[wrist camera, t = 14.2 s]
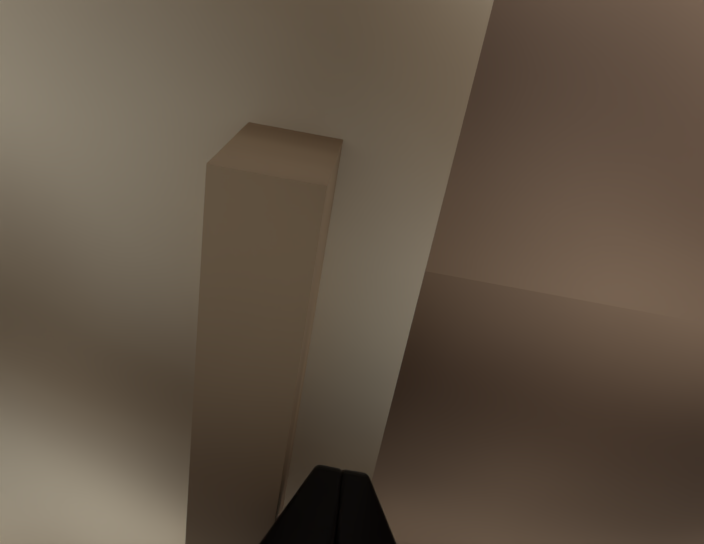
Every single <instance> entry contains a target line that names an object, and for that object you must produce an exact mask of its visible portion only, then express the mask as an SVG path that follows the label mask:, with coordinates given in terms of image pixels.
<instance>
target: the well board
mask: <svg viewBox="0 0 704 544" xmlns="http://www.w3.org/2000/svg"><path fill="white" fill-rule="evenodd" d="M371 482H372V484H373V487H374V489H375V492H376V494H377V497H378V499H379V502H380V504H381V507H382V509H383V512H384V514H385V517H386V519H387V521H388V524H389V526H390V529H391V531H392V534H393V536H394V539H395V541H396V544H704V0H494V2H493V6H492V10H491V14H490V18H489V22H488V26H487V29H486V33H485V37H484V41H483V45H482V49H481V53H480V57H479V61H478V65H477V69H476V73H475V77H474V81H473V84H472V88H471V92H470V96H469V100H468V104H467V108H466V112H465V116H464V120H463V124H462V128H461V132H460V136H459V139H458V143H457V147H456V151H455V155H454V159H453V163H452V167H451V171H450V175H449V179H448V183H447V187H446V191H445V194H444V198H443V202H442V206H441V210H440V214H439V218H438V222H437V226H436V230H435V234H434V238H433V242H432V246H431V249H430V253H429V257H428V261H427V265H426V269H425V273H424V277H423V281H422V285H421V289H420V293H419V297H418V301H417V304H416V308H415V312H414V316H413V320H412V324H411V328H410V332H409V336H408V340H407V344H406V348H405V352H404V356H403V359H402V363H401V367H400V371H399V375H398V379H397V383H396V387H395V391H394V395H393V399H392V403H391V407H390V411H389V415H388V418H387V422H386V426H385V430H384V434H383V438H382V442H381V446H380V450H379V454H378V458H377V462H376V466H375V470H374V473H373V477H372V481H371Z"/></svg>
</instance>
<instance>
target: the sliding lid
mask: <svg viewBox="0 0 704 544" xmlns="http://www.w3.org/2000/svg"><path fill="white" fill-rule="evenodd" d="M493 2H494V0H0V544H259V543H260V542H261V541H262V539H263V538H264V536H265V535H266V534H267V532H268V531H269V529H270V528H271V527H272V525H273V524H274V522H275V521H276V520H277V518H278V517H279V515H280V514H281V513H282V511H283V510H284V508H285V507H286V506H287V504H288V503H289V501H290V500H291V499H292V497H293V496H294V494H295V493H296V492H297V490H298V489H299V487H300V486H301V485H302V483H303V482H304V481H305V479H306V478H307V476H308V475H309V474H310V472H311V471H312V469H313V468H314V467H315V466H316V465H325V466H331V467H336V468H340V469H341V470H344V469H347V470H352V471H358V472H363V473H366V474H367V475H368V476H369V477H370V479H371V481H372V477H373V473H374V470H375V466H376V462H377V458H378V454H379V450H380V446H381V442H382V438H383V434H384V430H385V426H386V422H387V418H388V415H389V411H390V407H391V403H392V399H393V395H394V391H395V387H396V383H397V379H398V375H399V371H400V367H401V363H402V359H403V356H404V352H405V348H406V344H407V340H408V336H409V332H410V328H411V324H412V320H413V316H414V312H415V308H416V304H417V301H418V297H419V293H420V289H421V285H422V281H423V277H424V273H425V269H426V265H427V261H428V257H429V253H430V249H431V246H432V242H433V238H434V234H435V230H436V226H437V222H438V218H439V214H440V210H441V206H442V202H443V198H444V194H445V191H446V187H447V183H448V179H449V175H450V171H451V167H452V163H453V159H454V155H455V151H456V147H457V143H458V139H459V136H460V132H461V128H462V124H463V120H464V116H465V112H466V108H467V104H468V100H469V96H470V92H471V88H472V84H473V81H474V77H475V73H476V69H477V65H478V61H479V57H480V53H481V49H482V45H483V41H484V37H485V33H486V29H487V26H488V22H489V18H490V14H491V10H492V6H493Z"/></svg>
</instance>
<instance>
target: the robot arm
mask: <svg viewBox="0 0 704 544" xmlns="http://www.w3.org/2000/svg"><path fill="white" fill-rule="evenodd" d="M259 544H396V541H395V539H394V536H393V534H392V531H391V529H390V526H389V524H388V521H387V519H386V517H385V514H384V512H383V509H382V507H381V504H380V502H379V499H378V497H377V494H376V492H375V489H374V487H373V484H372V482H371V479H370V477H369V476H368V475H367V474H366V473H363V472H358V471H352V470H347V469H344V470H341V469H340V468H336V467H331V466H325V465H316V466H315V467H314V468H313V469H312V471H311V472H310V474H309V475H308V476H307V478H306V479H305V481H304V482H303V483H302V485H301V486H300V487H299V489H298V490H297V492H296V493H295V494H294V496H293V497H292V499H291V500H290V501H289V503H288V504H287V506H286V507H285V508H284V510H283V511H282V513H281V514H280V515H279V517H278V518H277V520H276V521H275V522H274V524H273V525H272V527H271V528H270V529H269V531H268V532H267V534H266V535H265V536H264V538H263V539H262V541H261V542H260V543H259Z"/></svg>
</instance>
